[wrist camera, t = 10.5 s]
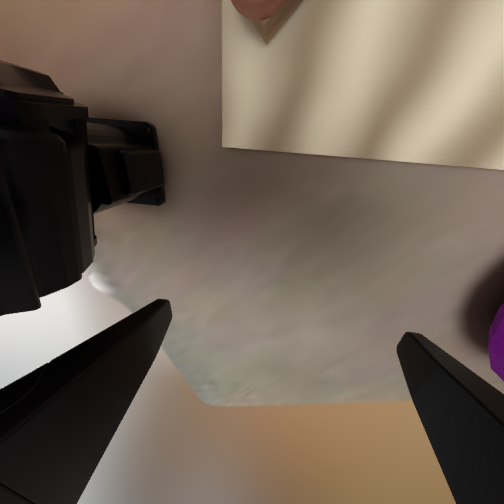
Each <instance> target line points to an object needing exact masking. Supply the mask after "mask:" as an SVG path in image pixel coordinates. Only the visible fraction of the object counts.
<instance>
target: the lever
mask: <svg viewBox="0 0 504 504" xmlns="http://www.w3.org/2000/svg"><path fill="white" fill-rule="evenodd" d="M301 1H302V0H231V2H232V4H233V5H234V7H235V8H236V10H237V11H238V12H239V13H240V14H241V15H243V16H244V17H246V18H247V19H250V20H251V21H252V23H253V24H254V26H255V27H256V29H257V30H258V32H259V34H260V35H261V37H262V38H263V40H264V41H265V43H266V44H267V43H268V42H269V40H270V39H271V38H272V37H273V35H274V34H275V33H276V32H277V31H278V29H279V28H280V27H281V26H282V24H283V23H284V22H285V21H286V19H287V18H288V17H289V16H290V15H291V13H292V12H293V11H294V10H295V8H296V7H297V6H298V5H299V4H300V2H301Z"/></svg>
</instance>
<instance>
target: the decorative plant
mask: <svg viewBox="0 0 504 504" xmlns="http://www.w3.org/2000/svg"><path fill="white" fill-rule="evenodd" d="M488 350H489V357H490V365H491V369H492V370H493V371H494V372H495V373H496V374H497V375H498V376H499V377H500V378H501V379H502V380H503V381H504V303H503V304H502V305H501V306H500V308H499V310H498V312H497V314H496V316H495V318H494V320H493V322H492V324H491V326H490V328H489V340H488Z"/></svg>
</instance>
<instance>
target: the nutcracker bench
mask: <svg viewBox="0 0 504 504" xmlns="http://www.w3.org/2000/svg"><path fill="white" fill-rule="evenodd" d="M222 147H229V148H241V149H254V150H266V151H278V152H291V153H303V154H315V155H327V156H340V157H352V158H364V159H377V160H389V161H401V162H414V163H426V164H438V165H450V166H463V167H475V168H487V169H500V170H504V0H302V1H301V2H300V4H299V5H298V6H297V7H296V8H295V10H294V11H293V12H292V13H291V15H290V16H289V17H288V18H287V19H286V21H285V22H284V23H283V24H282V26H281V27H280V28H279V29H278V31H277V32H276V33H275V34H274V35H273V37H272V38H271V39H270V40H269V42H268V43H267V44H266V43H265V41H264V40H263V38H262V37H261V35H260V34H259V32H258V30H257V29H256V27H255V26H254V24H253V23H252V21H251V20H250V19H247V18H246V17H244V16H243V15H241V14H240V13H239V12H238V11H237V10H236V8H235V7H234V5H233V4H232V2H231V0H222Z"/></svg>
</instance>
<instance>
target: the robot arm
mask: <svg viewBox="0 0 504 504" xmlns="http://www.w3.org/2000/svg"><path fill="white" fill-rule="evenodd" d="M147 127H149V129H150V132H149V133H148V132H147V130H146V128H147ZM163 184H164V178H163V171H162V163H161V156H160V153H159V151H158V145H157V138H156V131H155V127H154V126H153V125H152V124H151V123H148V122H138V121H125V120H111V119H98V118H89V117H88V107H87V106H85V105H82V104H79V103H77V102H74V99H73V98H70V97H68V96H66V95H63V93H62V92H60V91H59V89H58V88H57V86H56V85H55V84H54V82H53V81H52V79H51V78H50V77H49V76H48V75H45V74H42V73H40V72H37V71H34V70H31V69H27V68H24V67H21V66H18V65H14V64H11V63H8V62H4V61H1V60H0V316H2V315H5V314H12V313H19V312H26V311H33V310H36V309H39V308H40V307H41V303H40V299H39V298H40V297H43V296H46V295H49V294H51V293H54V292H56V291H59V290H61V289H64V288H66V287H68V286H70V285H72V284H74V283H75V282H77V281H79V280H80V279H81V278H82V273H83V272H84V271H85V270H86V269H87V268H88V267H89V266H90V264H91V263H92V262H93V258H94V253H95V251H94V247H95V245H96V244H97V237H96V236H95V231H94V217H93V214H95V213H98V212H101V211H104V210H106V209H109V208H112V207H114V206H117V205H120V204H123V203H125V202H129V203H139V204H148V205H157V206H159V205H162V204H164V202H165V196H164V189H163ZM157 197H158V198H159V199H160V202H159V201H158V200H157ZM171 320H172V311H171V306H170V301H169V300H166V299H157V300H155V301H153V302H152V303H150V304H148V305H147V306H145V307H143V308H141V309H140V310H138V311H136V312H134V313H133V314H131V315H129V316H128V317H126V318H124V319H122V320H121V321H119V322H117V323H116V324H114V325H112V326H110V327H108V328H107V329H105V330H103V331H102V332H100V333H98V334H96V335H95V336H93V337H91V338H89V339H88V340H86V341H84V342H83V343H81V344H79V345H77V346H76V347H74V348H72V349H70V350H69V351H67V352H65V353H63V354H62V355H60V356H58V357H56V358H55V359H53V360H52V361H50V363H46V364H44V365H43V366H41V367H39V368H37V369H36V370H34V371H32V372H31V373H29V374H27V375H25V376H23V377H21V378H20V379H18V380H16V381H14V382H13V383H11V384H9V385H7V386H5V387H4V388H2V389H0V504H77V502H78V500H79V498H80V496H81V495H82V493H83V491H84V489H85V487H86V485H87V484H88V482H89V480H90V478H91V476H92V474H93V472H94V471H95V469H96V467H97V465H98V463H99V461H100V459H101V458H102V456H103V454H104V452H105V450H106V448H107V446H108V445H109V443H110V441H111V439H112V437H113V436H114V434H115V432H116V430H117V428H118V426H119V424H120V423H121V421H122V419H123V417H124V415H125V413H126V411H127V409H128V408H129V406H130V404H131V402H132V400H133V399H134V397H135V395H136V393H137V391H138V389H139V387H140V385H141V384H142V382H143V380H144V378H145V376H146V375H147V372H148V370H149V369H150V367H151V365H152V363H153V361H154V360H155V357H156V355H157V353H158V351H159V349H160V346H161V344H162V341H163V339H164V337H165V334H166V332H167V329H168V327H169V325H170V322H171ZM397 355H398V358H399V361H400V364H401V367H402V370H403V373H404V376H405V380H406V383H407V386H408V389H409V392H410V395H411V398H412V400H413V403H414V405H415V408H416V410H417V412H418V414H419V417H420V419H421V422H422V424H423V426H424V428H425V431H426V434H427V436H428V438H429V440H430V443H431V445H432V448H433V450H434V452H435V455H436V457H437V459H438V462H439V464H440V466H441V469H442V471H443V474H444V476H445V478H446V481H447V483H448V485H449V488H450V490H451V492H452V495H453V497H454V500H455V502H456V504H504V394H503V393H501V392H500V391H498V390H497V389H496V388H494V387H493V386H492V385H490V384H489V383H487V382H486V381H485V380H483V379H482V378H481V377H479V376H478V375H476V374H475V373H474V372H472V371H471V370H470V369H468V368H467V367H466V366H464V365H463V364H461V363H460V362H459V361H457V360H456V359H455V358H453V357H452V356H450V355H449V354H448V353H446V352H445V351H444V350H442V349H441V348H439V347H438V346H437V345H435V344H434V343H433V342H431V341H430V340H429V339H427V338H426V337H424V336H423V335H422V334H419V333H414V332H406V333H405V334H404V335H403V337H402V338H401V340H400V342H399V343H398V345H397Z"/></svg>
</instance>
